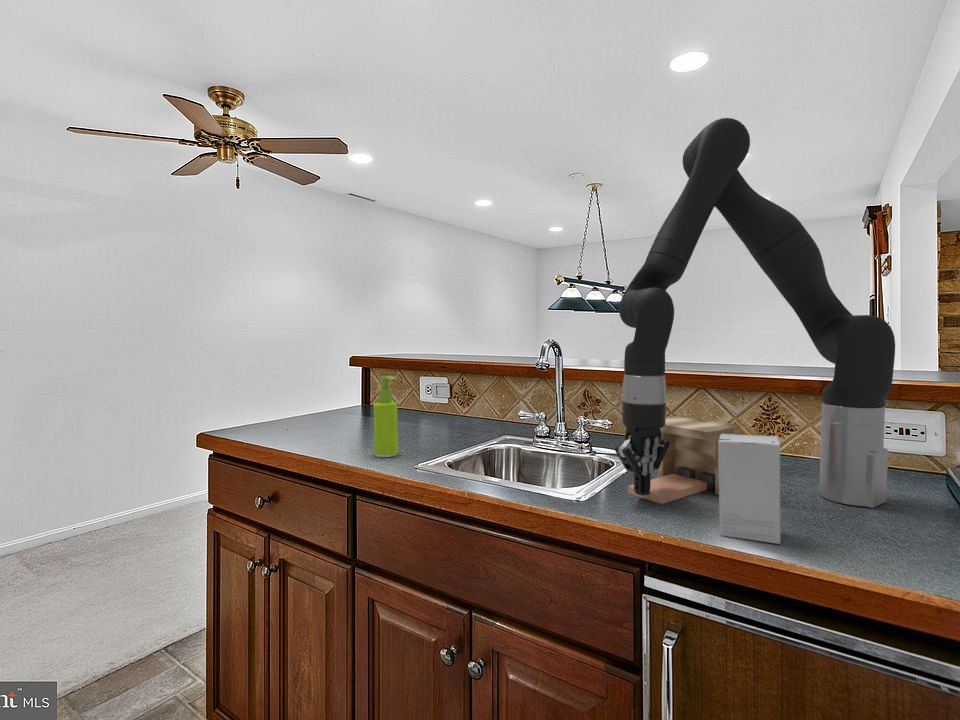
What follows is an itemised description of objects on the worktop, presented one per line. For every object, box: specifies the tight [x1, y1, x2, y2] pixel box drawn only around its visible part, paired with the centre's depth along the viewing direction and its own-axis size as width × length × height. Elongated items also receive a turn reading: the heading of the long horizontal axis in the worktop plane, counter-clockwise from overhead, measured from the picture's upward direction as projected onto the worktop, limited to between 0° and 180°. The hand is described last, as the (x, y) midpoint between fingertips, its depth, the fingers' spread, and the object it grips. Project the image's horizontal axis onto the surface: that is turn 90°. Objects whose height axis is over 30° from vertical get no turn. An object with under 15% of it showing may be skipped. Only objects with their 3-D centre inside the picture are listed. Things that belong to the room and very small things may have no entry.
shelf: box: [657, 415, 741, 496], centre depth 101 cm, size 14×11×12 cm
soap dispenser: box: [373, 375, 399, 455], centre depth 128 cm, size 6×7×20 cm
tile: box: [627, 474, 708, 505], centre depth 98 cm, size 8×14×2 cm, turn 125°
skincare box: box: [718, 434, 782, 545], centre depth 77 cm, size 8×6×15 cm
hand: (642, 493), depth 94 cm, fingers closed
